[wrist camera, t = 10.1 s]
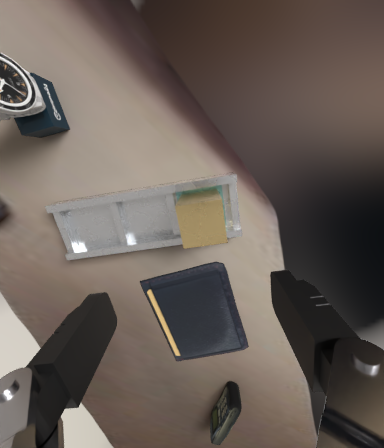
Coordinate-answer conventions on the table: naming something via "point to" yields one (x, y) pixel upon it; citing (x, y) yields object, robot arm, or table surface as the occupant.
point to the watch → (29, 101)
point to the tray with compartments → (137, 217)
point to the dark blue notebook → (197, 311)
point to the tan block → (201, 219)
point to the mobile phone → (225, 413)
